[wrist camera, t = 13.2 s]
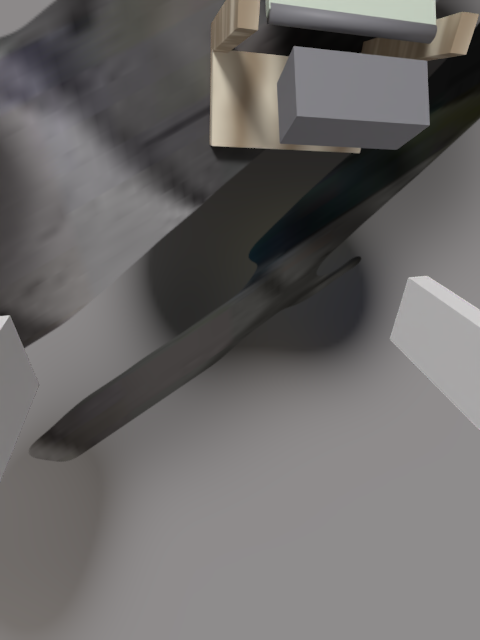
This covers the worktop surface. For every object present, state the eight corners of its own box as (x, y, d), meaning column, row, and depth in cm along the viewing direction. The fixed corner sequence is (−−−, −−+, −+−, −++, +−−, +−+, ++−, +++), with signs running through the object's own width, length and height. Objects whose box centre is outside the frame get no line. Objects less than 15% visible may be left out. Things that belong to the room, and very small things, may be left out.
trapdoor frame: (209, 144, 42) (231, 162, 29) (211, 23, 36) (239, -22, 23) (352, 151, 45) (428, 170, 32) (375, 43, 39) (479, 14, 27)
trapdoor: (262, 142, 28) (276, 114, 24) (250, -116, 28) (262, -187, 24) (411, 150, 31) (446, 126, 27) (401, -85, 31) (435, -144, 27)
